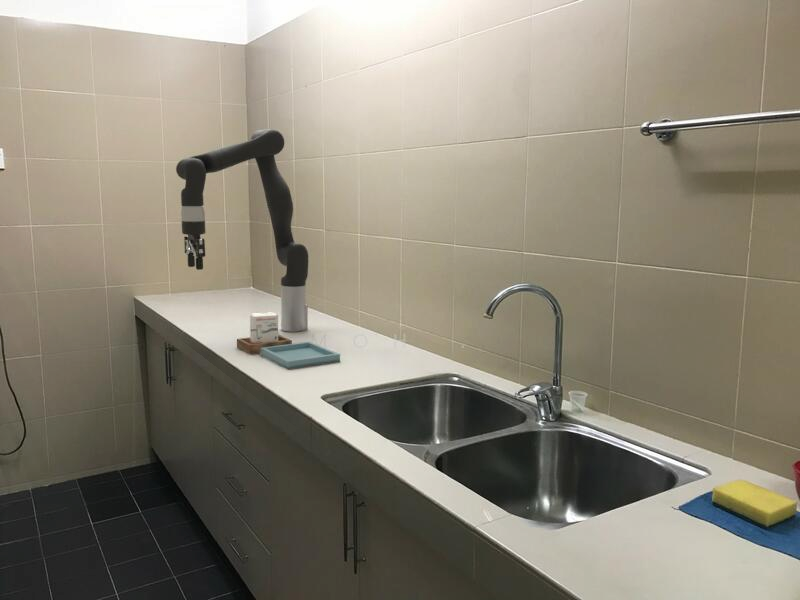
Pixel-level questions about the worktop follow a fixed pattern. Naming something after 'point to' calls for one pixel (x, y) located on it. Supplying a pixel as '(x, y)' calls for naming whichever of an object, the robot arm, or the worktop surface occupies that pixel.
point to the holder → (255, 348)
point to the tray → (299, 355)
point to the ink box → (263, 327)
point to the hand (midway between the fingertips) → (195, 268)
